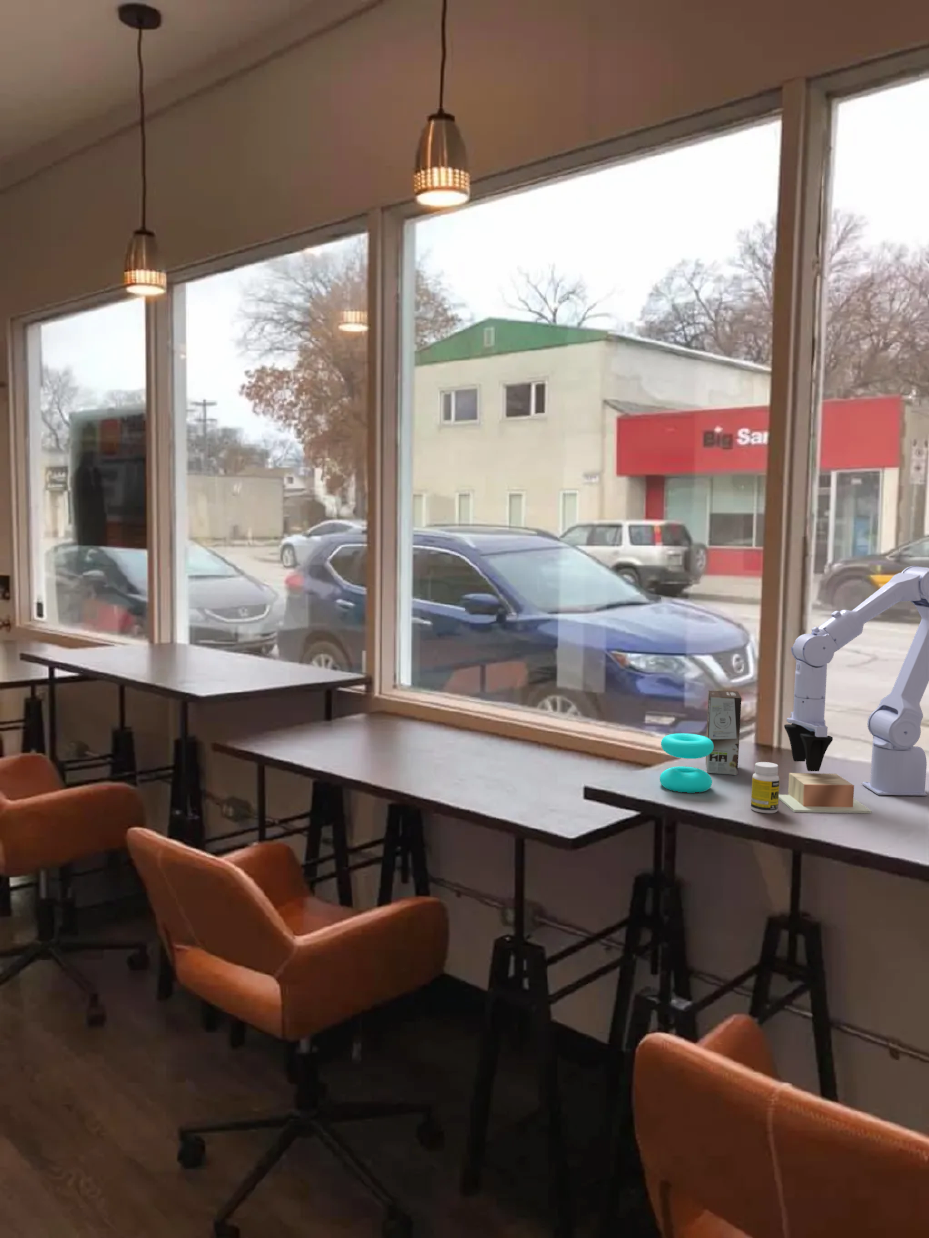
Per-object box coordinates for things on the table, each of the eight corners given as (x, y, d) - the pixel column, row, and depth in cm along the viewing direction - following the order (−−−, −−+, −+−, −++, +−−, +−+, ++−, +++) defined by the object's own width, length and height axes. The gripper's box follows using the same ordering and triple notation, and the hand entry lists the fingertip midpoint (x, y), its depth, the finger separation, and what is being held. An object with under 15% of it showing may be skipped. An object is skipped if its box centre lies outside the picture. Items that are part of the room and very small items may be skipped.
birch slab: (836, 773, 189) (854, 785, 180) (835, 794, 189) (852, 807, 181) (789, 772, 189) (804, 784, 180) (788, 793, 189) (803, 806, 180)
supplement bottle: (773, 815, 176) (776, 769, 175) (747, 810, 178) (749, 765, 178) (780, 809, 180) (783, 763, 179) (754, 804, 183) (757, 759, 182)
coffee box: (738, 775, 203) (742, 697, 202) (706, 773, 205) (709, 696, 203) (735, 765, 212) (739, 690, 211) (704, 763, 214) (707, 689, 212)
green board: (849, 797, 188) (849, 795, 188) (871, 813, 178) (871, 810, 178) (776, 796, 188) (776, 794, 188) (794, 812, 178) (794, 809, 178)
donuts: (656, 731, 197) (706, 732, 198) (654, 780, 198) (704, 781, 198) (667, 742, 187) (719, 743, 188) (665, 794, 188) (717, 795, 189)
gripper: (776, 689, 198) (773, 756, 199) (802, 703, 184) (798, 775, 185) (811, 690, 198) (808, 757, 200) (840, 703, 184) (836, 775, 185)
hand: (806, 765), depth 192 cm, fingers open, 7 cm apart
